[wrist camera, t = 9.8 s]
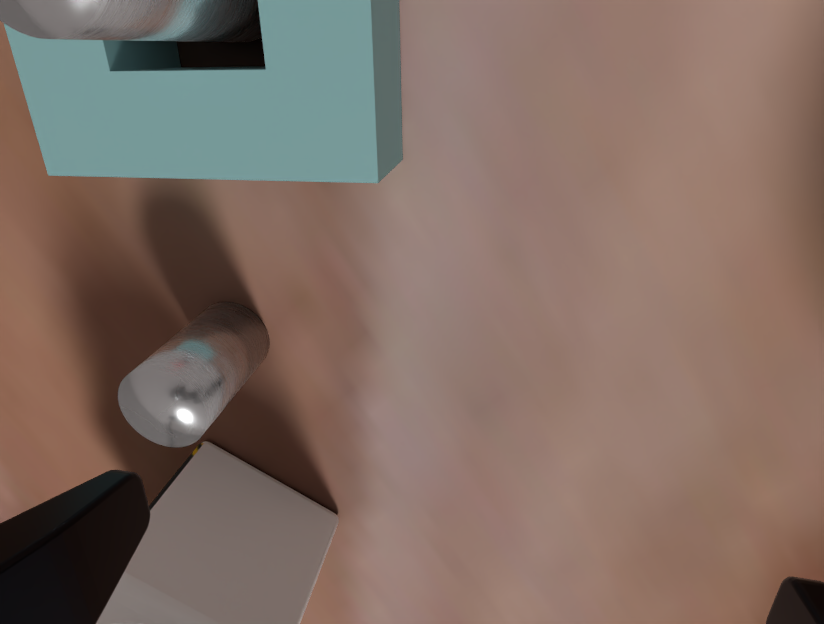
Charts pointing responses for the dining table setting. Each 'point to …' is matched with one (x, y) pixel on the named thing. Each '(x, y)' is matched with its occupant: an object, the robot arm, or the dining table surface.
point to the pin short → (194, 375)
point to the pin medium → (135, 19)
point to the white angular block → (223, 549)
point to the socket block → (226, 101)
